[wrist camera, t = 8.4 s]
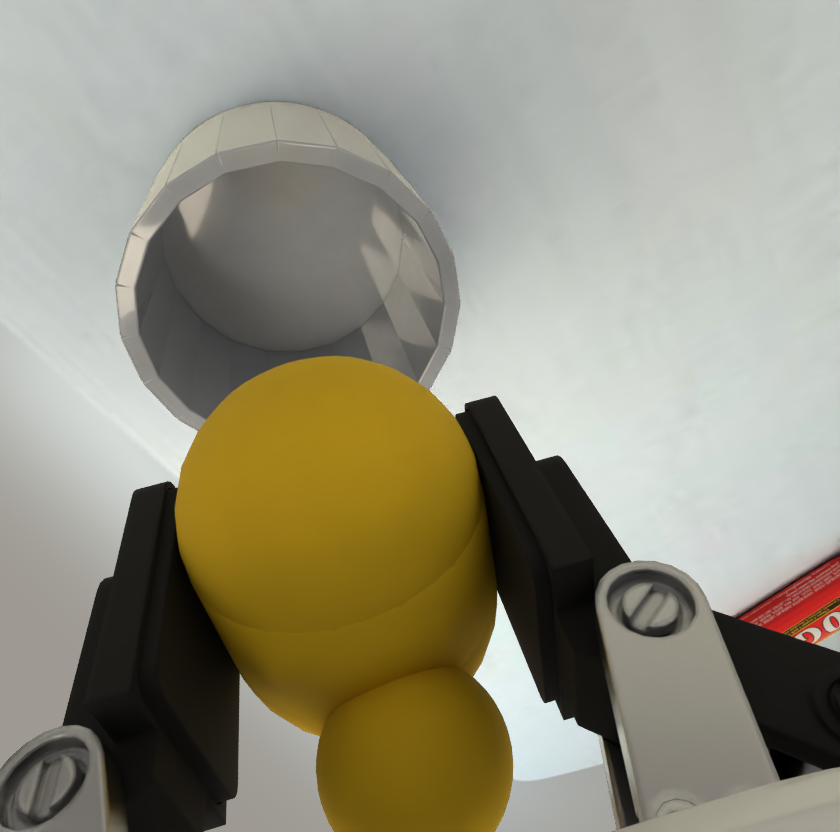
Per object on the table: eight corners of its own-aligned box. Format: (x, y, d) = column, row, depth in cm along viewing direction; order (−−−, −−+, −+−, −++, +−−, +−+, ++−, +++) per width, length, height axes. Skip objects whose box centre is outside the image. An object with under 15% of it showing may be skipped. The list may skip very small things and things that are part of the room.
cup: (102, 134, 21) (49, 190, 15) (385, 74, 22) (434, 105, 16) (203, 379, 27) (191, 488, 21) (428, 323, 27) (476, 412, 22)
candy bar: (858, 534, 42) (896, 568, 40) (870, 561, 44) (908, 595, 42) (647, 668, 45) (670, 707, 43) (669, 688, 47) (692, 726, 45)
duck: (130, 355, 10) (80, 709, 5) (407, 276, 11) (609, 518, 6) (260, 627, 14) (307, 987, 9) (459, 555, 15) (610, 851, 10)
